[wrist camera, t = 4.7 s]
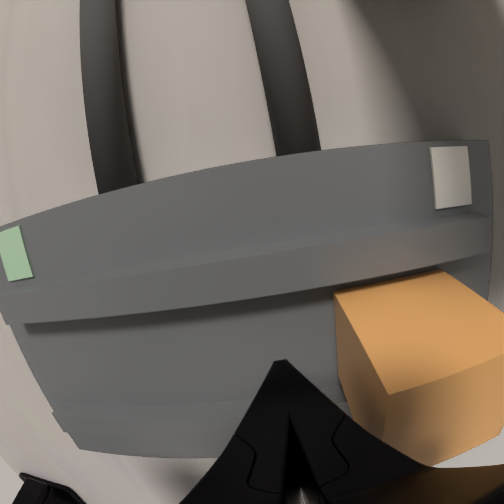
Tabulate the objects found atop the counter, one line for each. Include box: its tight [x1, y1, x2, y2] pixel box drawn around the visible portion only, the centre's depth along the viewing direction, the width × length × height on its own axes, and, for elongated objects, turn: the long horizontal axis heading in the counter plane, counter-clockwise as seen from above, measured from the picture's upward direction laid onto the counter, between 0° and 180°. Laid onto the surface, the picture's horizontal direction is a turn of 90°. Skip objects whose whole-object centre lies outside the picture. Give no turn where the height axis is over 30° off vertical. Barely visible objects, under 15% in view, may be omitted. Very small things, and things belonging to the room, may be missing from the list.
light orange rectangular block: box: [333, 269, 504, 466], centre depth 8 cm, size 3×4×5 cm
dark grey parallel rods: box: [80, 0, 321, 195], centre depth 8 cm, size 11×7×1 cm, turn 10°
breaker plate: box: [0, 140, 493, 458], centre depth 11 cm, size 12×20×2 cm, turn 100°
